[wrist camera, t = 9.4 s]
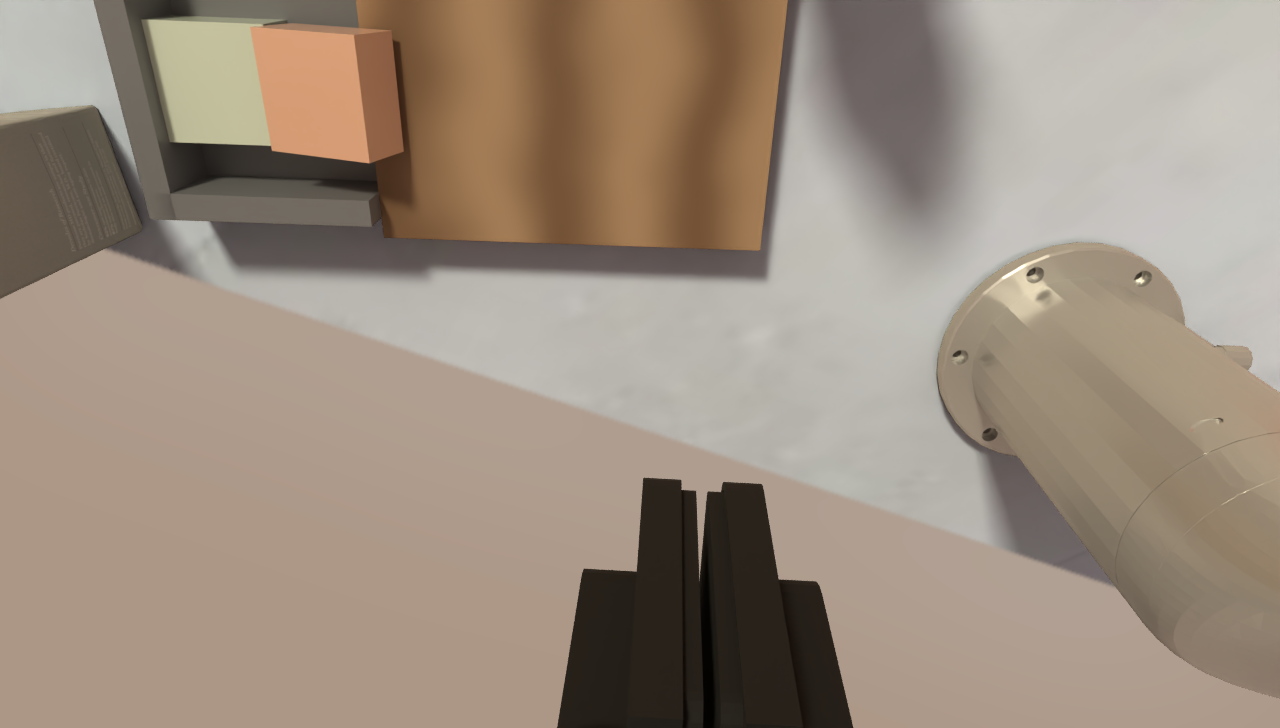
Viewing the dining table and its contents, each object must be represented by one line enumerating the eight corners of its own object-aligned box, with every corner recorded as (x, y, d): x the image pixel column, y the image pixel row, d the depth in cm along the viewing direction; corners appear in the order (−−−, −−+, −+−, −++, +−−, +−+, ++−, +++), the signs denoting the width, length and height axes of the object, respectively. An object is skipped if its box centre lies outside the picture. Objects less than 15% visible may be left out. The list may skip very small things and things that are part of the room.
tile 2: (391, 30, 33) (353, 35, 31) (403, 151, 35) (369, 163, 33) (292, 23, 34) (249, 26, 32) (310, 139, 37) (271, 150, 34)
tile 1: (286, 19, 35) (262, 24, 33) (304, 134, 37) (283, 146, 35) (172, 15, 35) (141, 19, 33) (197, 130, 37) (169, 142, 35)
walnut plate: (787, -82, 34) (797, -84, 31) (753, 234, 40) (760, 250, 38) (363, -100, 33) (343, -103, 31) (398, 221, 40) (383, 237, 38)
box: (360, -127, 33) (326, -137, 29) (396, 202, 39) (371, 226, 36) (118, -137, 33) (55, -148, 29) (194, 195, 39) (149, 219, 36)
